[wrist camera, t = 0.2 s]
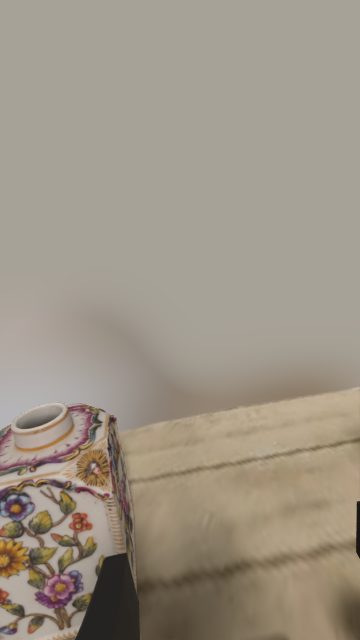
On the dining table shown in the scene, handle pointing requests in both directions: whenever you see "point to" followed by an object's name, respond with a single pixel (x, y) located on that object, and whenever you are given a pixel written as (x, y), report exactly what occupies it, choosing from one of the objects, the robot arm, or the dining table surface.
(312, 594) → the dining table surface
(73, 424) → the decorative jar
